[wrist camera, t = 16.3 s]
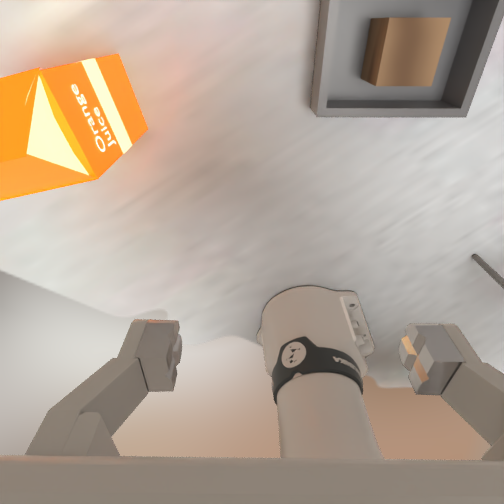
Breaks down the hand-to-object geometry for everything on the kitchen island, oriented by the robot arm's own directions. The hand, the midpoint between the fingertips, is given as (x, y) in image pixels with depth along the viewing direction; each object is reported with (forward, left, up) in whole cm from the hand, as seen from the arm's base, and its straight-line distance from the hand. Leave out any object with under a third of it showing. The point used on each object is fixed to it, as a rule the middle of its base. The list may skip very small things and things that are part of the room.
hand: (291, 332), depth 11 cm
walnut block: (-1, -14, -30) cm, 33 cm away
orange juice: (+12, +14, -30) cm, 35 cm away
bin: (-1, -14, -30) cm, 33 cm away
